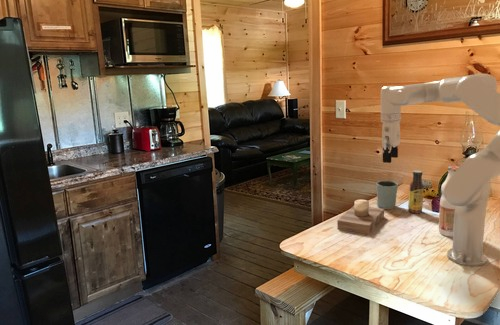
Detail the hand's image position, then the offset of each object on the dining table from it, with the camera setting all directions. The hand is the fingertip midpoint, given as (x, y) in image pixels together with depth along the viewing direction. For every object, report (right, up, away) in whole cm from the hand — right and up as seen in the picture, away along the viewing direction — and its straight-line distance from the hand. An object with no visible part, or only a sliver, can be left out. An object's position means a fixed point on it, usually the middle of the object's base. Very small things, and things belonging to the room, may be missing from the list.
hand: (390, 159), depth 161 cm
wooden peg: (-6, -28, +20) cm, 35 cm away
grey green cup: (+12, -23, +38) cm, 46 cm away
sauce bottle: (+22, -25, +29) cm, 44 cm away
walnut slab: (-6, -28, +20) cm, 35 cm away
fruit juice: (+26, -30, +4) cm, 40 cm away
